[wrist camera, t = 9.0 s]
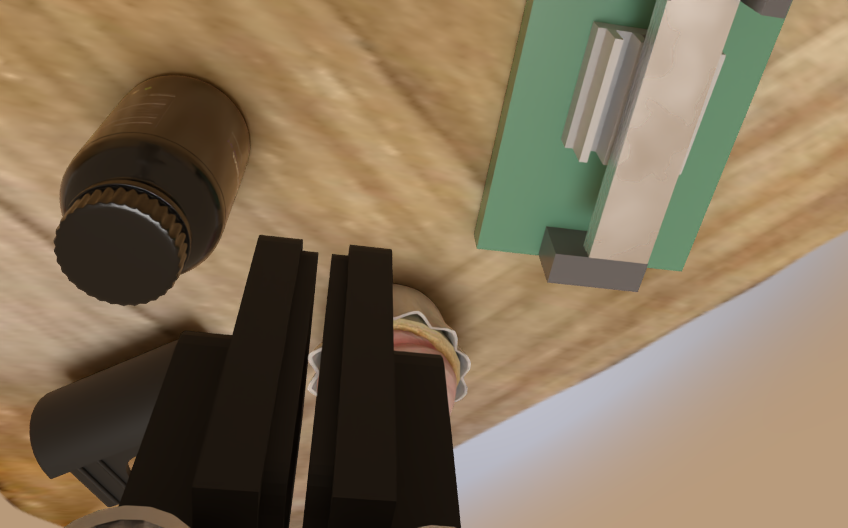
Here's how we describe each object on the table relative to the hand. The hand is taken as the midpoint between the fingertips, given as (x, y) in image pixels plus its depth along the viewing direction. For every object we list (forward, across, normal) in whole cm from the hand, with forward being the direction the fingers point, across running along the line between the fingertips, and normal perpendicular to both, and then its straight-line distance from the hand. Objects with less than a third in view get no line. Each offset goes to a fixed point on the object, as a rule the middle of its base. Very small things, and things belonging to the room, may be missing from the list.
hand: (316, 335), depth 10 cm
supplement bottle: (+29, +8, +11) cm, 32 cm away
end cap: (+29, +10, +28) cm, 42 cm away
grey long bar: (+25, -14, +5) cm, 29 cm away
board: (+29, -14, +5) cm, 33 cm away
